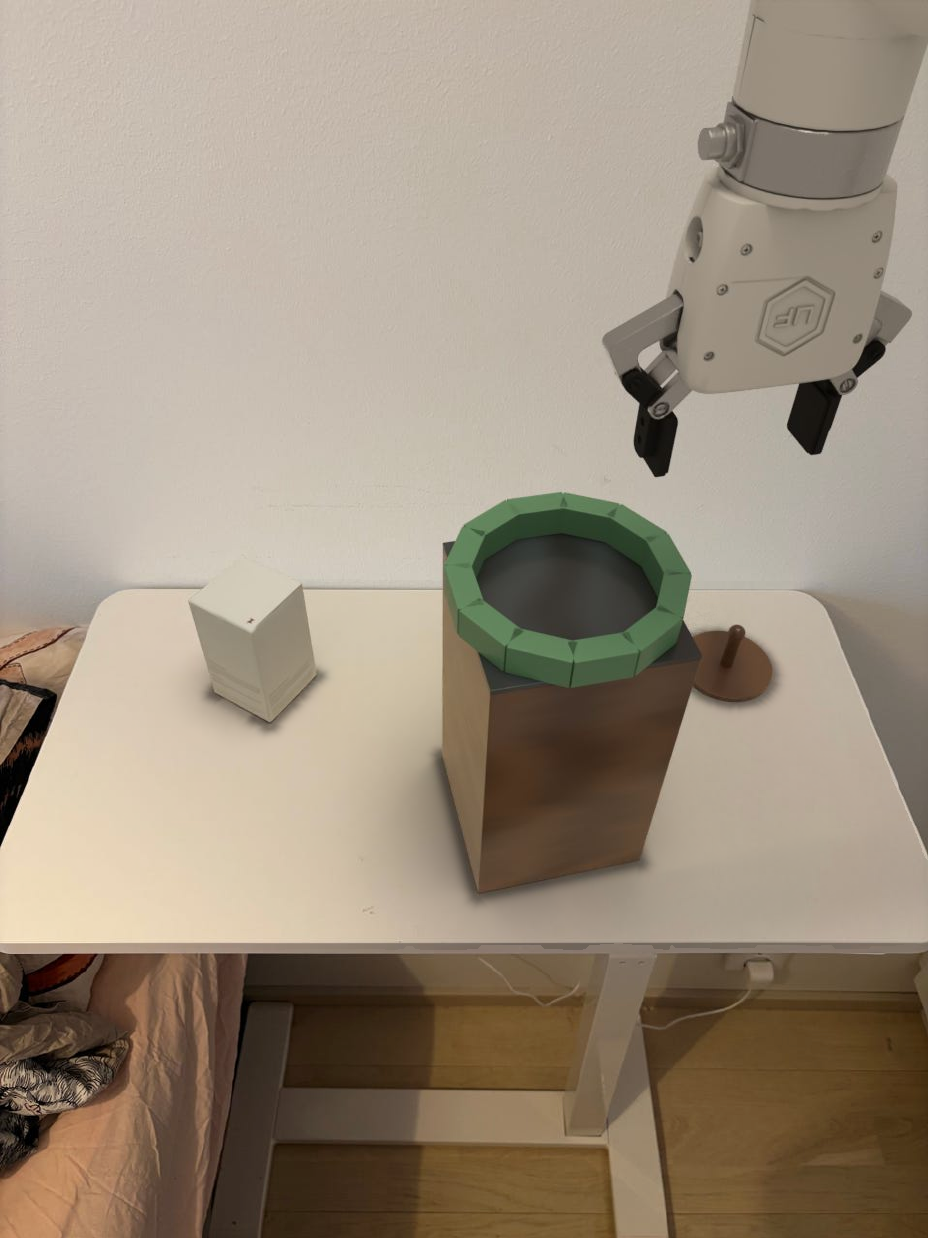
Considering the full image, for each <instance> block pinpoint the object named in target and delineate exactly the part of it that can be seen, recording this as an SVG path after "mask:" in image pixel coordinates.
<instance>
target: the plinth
mask: <svg viewBox="0 0 928 1238" xmlns="http://www.w3.org/2000/svg"><path fill="white" fill-rule="evenodd" d="M455 541H456V540H451V541H444V542H442V652H441V653H442V656H441V657H442V658H441V659H442V661H441V662H442V671H441V672H442V677H441V679H442V685H441V687H442V689H441V690H442V691H441V693H442V694H441V696H442V697H441V698H442V699H441V701H442V702H441V704H442V705H441V706H442V707H441V708H442V709H441V710H442V711H441V712H442V713H441V716H442V718H441V719H442V721H441V723H442V724H441V725H442V729H441V730H442V731H441V734H442V735H441V736H442V737H441V743H442V744H441V755H442V760H443V763H444V768H445V771H446V776H447V779H448V783H449V786H450V790H451V794H452V799H453V802H454V806H455V811H456V814H457V818H458V821H459V825H460V828H461V833H462V836H463V840H464V845H465V848H466V851H467V856H468V858H469V863H470V867H471V871H472V875H473V879H474V883H475V887H476V890H477V893H478V894H481V893H486V892H492V891H496V890H502V889H505V888H510V887H516V886H521V885H525V884H526V885H527V884H530V883H536V882H539V881H545V880H549V879H555V878H559V877H564V876H569V875H574V874H579V873H583V872H588V871H593V870H598V869H603V868H607V867H612V866H616V865H618V866H619V865H623V864H628V863H633V862H636V861H640V860H641V857H642V854H643V850H644V847H645V844H646V841H647V837H648V835H649V831H650V828H651V825H652V821H653V817H654V815H655V811H656V808H657V805H658V801H659V798H660V795H661V791H662V788H663V785H664V781H665V778H666V775H667V773H668V768H669V766H670V762H671V758H672V756H673V752H674V749H675V746H676V743H677V740H678V736H679V733H680V730H681V727H682V723H683V720H684V717H685V713H686V710H687V707H688V703H689V700H690V697H691V694H692V691H693V687H694V686H693V684H694V681H695V678H696V674H697V671H698V668H699V664H700V661H701V659H702V653H701V652H700V650H699V648H698V646H697V644H696V642H695V640H694V639H693V637H694V636H693V635H692V633H691V632H690V631H691V630H690V629H689V627H688V625H687V624H686V621H685V620H684V619H683V622H682V626H681V629H680V633H679V637H678V640H677V642H676V644H675V645H674V646H672V647H671V648H670V649H669V650H667V651H666V652H665V653H664V654H662V655H661V656H660V657H659V658H657V659H656V660H655V661H654V662H652V663H651V664H650V665H649V666H647V667H646V668H645V669H644V670H642V671H641V672H640V673H639V674H637V675H636V676H633V677H631V678H626V679H620V680H614V681H608V682H602V683H597V684H591V685H585V686H579V687H573V688H571V686H569V688H567V687H563V686H559V685H555V684H551V683H546V682H542V681H538V680H534V679H530V678H526V677H521V676H517V675H513V674H509V673H505V670H504V671H501V670H500V669H499V668H498V667H496V666H495V665H494V664H493V663H491V662H490V661H489V660H488V659H486V658H485V657H484V656H483V655H481V654H480V653H479V652H478V651H477V650H475V649H474V648H473V647H472V646H470V645H469V644H468V643H467V642H465V641H464V640H463V639H462V638H460V637H459V634H457V632H456V629H455V625H454V622H453V619H452V616H451V612H450V609H449V606H448V603H447V600H446V596H445V593H444V564H445V562H446V560H447V558H448V556H449V553H450V551H451V549H452V547H453V545H454V543H455ZM476 580H477V583H478V586H479V588H480V591H481V594H482V597H483V600H484V601H485V602H486V603H488V604H489V605H490V606H491V607H493V608H494V609H495V610H497V611H498V612H499V613H501V614H502V615H503V616H505V617H506V618H507V619H509V620H510V621H511V622H513V623H514V624H515V625H517V626H518V627H519V628H520V629H525V630H529V631H533V632H538V633H542V634H546V635H551V636H555V637H559V638H564V639H568V640H572V641H573V640H579V639H585V638H591V637H598V636H604V635H610V634H616V633H622V632H624V631H626V630H627V629H628V628H630V627H631V626H632V625H633V624H635V623H636V622H637V621H639V620H640V619H641V618H643V617H644V616H645V615H647V614H648V613H649V612H651V611H652V610H653V609H655V608H656V604H657V600H658V597H657V595H656V593H655V591H654V589H653V587H652V586H651V584H650V582H649V580H648V578H647V576H646V574H645V572H644V571H643V569H642V567H641V566H640V565H639V564H637V563H636V562H634V561H633V560H631V559H630V558H628V557H627V556H625V555H623V554H622V553H620V552H619V551H617V550H616V549H614V548H613V547H611V546H610V545H608V544H607V543H605V542H601V541H596V540H591V539H586V538H582V537H577V536H572V535H567V534H563V533H560V534H553V535H546V536H539V537H532V538H525V539H518V540H515V541H514V542H512V543H511V544H509V545H508V546H506V547H504V548H503V549H501V550H500V551H498V552H497V553H495V554H493V555H492V556H490V557H489V558H487V559H485V560H484V562H483V564H482V566H481V569H480V571H479V573H478V576H477V578H476Z"/></svg>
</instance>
